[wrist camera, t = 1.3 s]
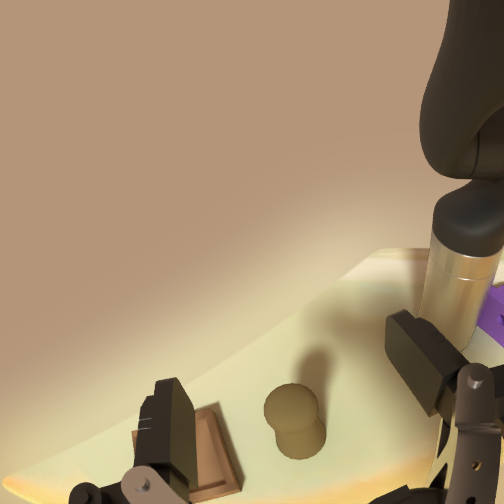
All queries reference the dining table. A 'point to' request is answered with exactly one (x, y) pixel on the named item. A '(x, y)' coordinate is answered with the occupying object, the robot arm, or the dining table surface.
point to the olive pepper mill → (295, 421)
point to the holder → (210, 460)
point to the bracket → (494, 315)
